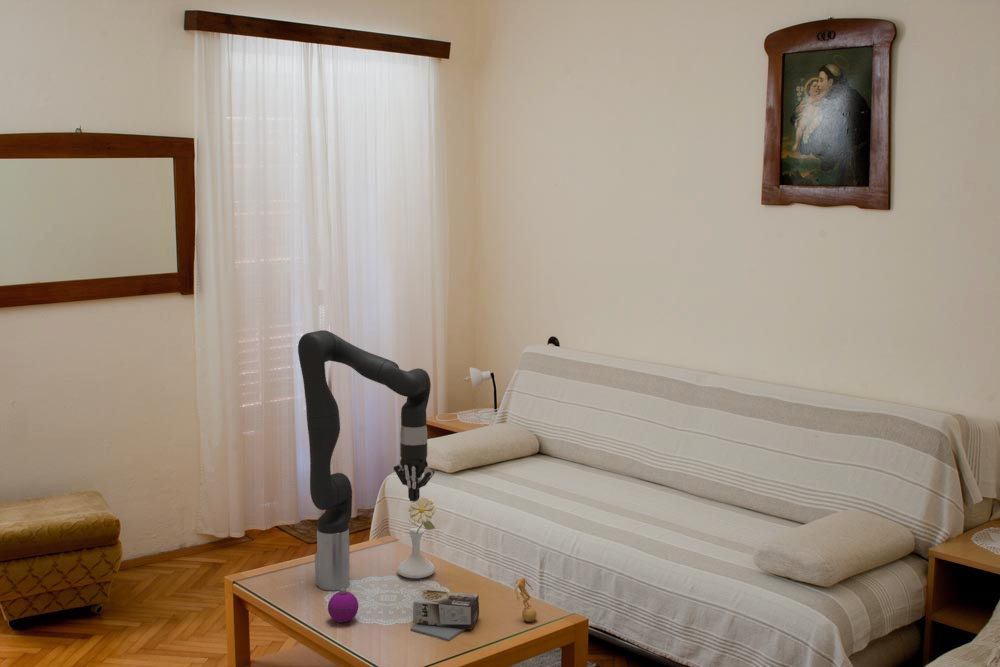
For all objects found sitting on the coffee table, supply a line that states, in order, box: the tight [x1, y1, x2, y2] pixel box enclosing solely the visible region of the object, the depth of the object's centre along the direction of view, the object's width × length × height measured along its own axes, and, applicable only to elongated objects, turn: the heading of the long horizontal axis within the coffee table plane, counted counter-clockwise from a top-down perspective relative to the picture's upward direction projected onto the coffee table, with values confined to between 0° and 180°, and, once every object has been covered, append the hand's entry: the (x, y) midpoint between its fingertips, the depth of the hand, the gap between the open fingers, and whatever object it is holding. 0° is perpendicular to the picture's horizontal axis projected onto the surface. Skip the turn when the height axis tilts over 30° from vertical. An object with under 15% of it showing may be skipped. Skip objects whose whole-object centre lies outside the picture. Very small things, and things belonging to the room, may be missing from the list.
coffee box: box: [412, 589, 480, 630], centre depth 271 cm, size 9×6×16 cm
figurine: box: [514, 577, 538, 623], centre depth 272 cm, size 8×6×12 cm
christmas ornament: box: [327, 586, 359, 623], centre depth 271 cm, size 8×8×10 cm
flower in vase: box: [396, 496, 436, 579], centre depth 302 cm, size 13×11×25 cm
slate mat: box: [410, 623, 466, 642], centre depth 268 cm, size 12×11×1 cm
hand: (414, 500), depth 282 cm, fingers closed
